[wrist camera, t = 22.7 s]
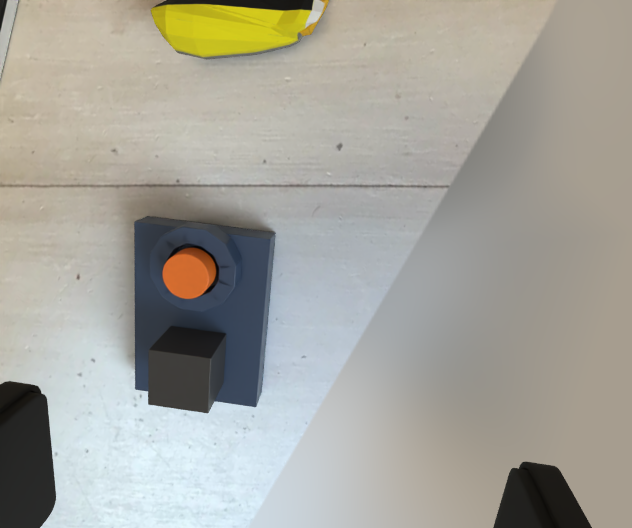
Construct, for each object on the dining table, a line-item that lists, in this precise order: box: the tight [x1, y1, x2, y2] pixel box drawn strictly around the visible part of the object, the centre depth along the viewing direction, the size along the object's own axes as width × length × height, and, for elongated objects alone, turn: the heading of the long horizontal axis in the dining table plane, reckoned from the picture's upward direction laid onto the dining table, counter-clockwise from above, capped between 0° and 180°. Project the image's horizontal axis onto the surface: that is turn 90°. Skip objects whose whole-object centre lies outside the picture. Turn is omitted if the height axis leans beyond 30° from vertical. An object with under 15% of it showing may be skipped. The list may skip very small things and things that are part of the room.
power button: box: [163, 248, 216, 299], centre depth 31 cm, size 3×3×2 cm
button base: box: [134, 216, 276, 407], centre depth 35 cm, size 15×10×4 cm
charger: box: [148, 326, 226, 413], centre depth 33 cm, size 5×4×4 cm
